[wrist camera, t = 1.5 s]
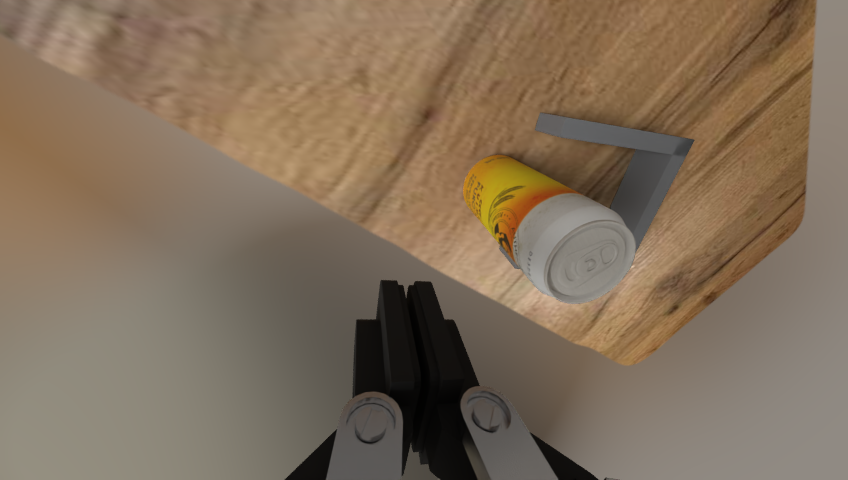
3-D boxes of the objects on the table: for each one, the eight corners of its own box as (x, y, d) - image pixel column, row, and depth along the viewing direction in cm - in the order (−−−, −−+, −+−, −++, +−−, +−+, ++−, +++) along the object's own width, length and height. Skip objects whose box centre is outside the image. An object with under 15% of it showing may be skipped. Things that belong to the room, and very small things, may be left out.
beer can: (450, 173, 29) (525, 252, 15) (508, 140, 28) (635, 192, 15) (474, 223, 31) (554, 325, 18) (527, 194, 31) (648, 277, 18)
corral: (656, 133, 30) (694, 139, 27) (599, 254, 36) (624, 273, 33) (540, 112, 27) (565, 117, 24) (499, 248, 33) (515, 268, 30)
